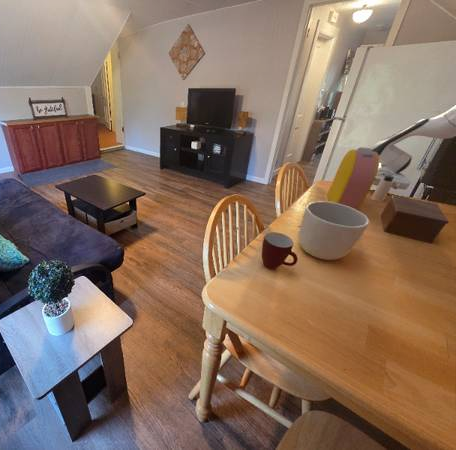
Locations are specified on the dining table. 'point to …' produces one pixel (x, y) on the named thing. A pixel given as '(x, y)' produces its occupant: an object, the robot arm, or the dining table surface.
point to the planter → (331, 229)
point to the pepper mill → (383, 188)
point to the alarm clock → (354, 178)
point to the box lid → (419, 209)
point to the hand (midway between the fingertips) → (383, 185)
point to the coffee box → (409, 225)
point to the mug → (277, 250)
